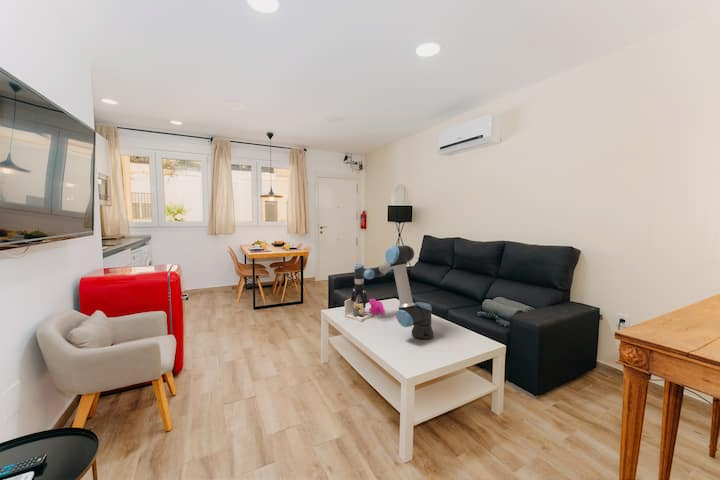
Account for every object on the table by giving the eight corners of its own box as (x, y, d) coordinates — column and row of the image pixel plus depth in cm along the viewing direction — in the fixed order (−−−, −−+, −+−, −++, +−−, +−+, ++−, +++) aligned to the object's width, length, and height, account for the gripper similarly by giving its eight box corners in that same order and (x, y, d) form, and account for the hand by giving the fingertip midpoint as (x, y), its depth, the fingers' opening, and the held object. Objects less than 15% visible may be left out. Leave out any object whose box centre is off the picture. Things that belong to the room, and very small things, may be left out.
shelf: (372, 316, 243) (372, 299, 241) (361, 321, 230) (361, 304, 229) (356, 312, 253) (356, 296, 252) (344, 317, 240) (344, 300, 239)
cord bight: (364, 312, 239) (364, 304, 239) (362, 313, 237) (361, 305, 236) (356, 311, 244) (356, 303, 244) (354, 312, 241) (354, 304, 241)
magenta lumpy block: (369, 310, 257) (369, 299, 256) (380, 309, 259) (380, 298, 259) (373, 315, 245) (373, 303, 244) (384, 314, 248) (384, 302, 247)
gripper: (372, 284, 235) (372, 311, 237) (352, 280, 248) (352, 306, 250) (366, 286, 229) (366, 314, 231) (346, 282, 242) (346, 308, 244)
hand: (359, 310), depth 240 cm, fingers closed on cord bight, 8 cm apart
